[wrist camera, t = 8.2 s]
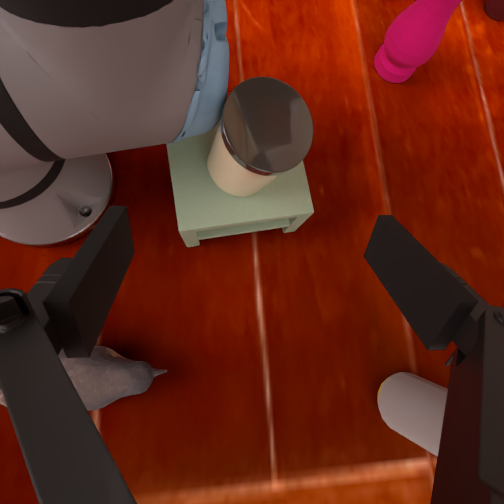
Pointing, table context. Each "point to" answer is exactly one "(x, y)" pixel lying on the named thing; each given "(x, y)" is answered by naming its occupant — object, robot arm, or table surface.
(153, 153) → the table surface
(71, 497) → the robot arm
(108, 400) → the decorative bird
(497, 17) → the mug
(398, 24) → the pepper mill
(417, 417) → the soap bottle
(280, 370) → the table surface
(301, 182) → the small table
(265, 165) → the jar
